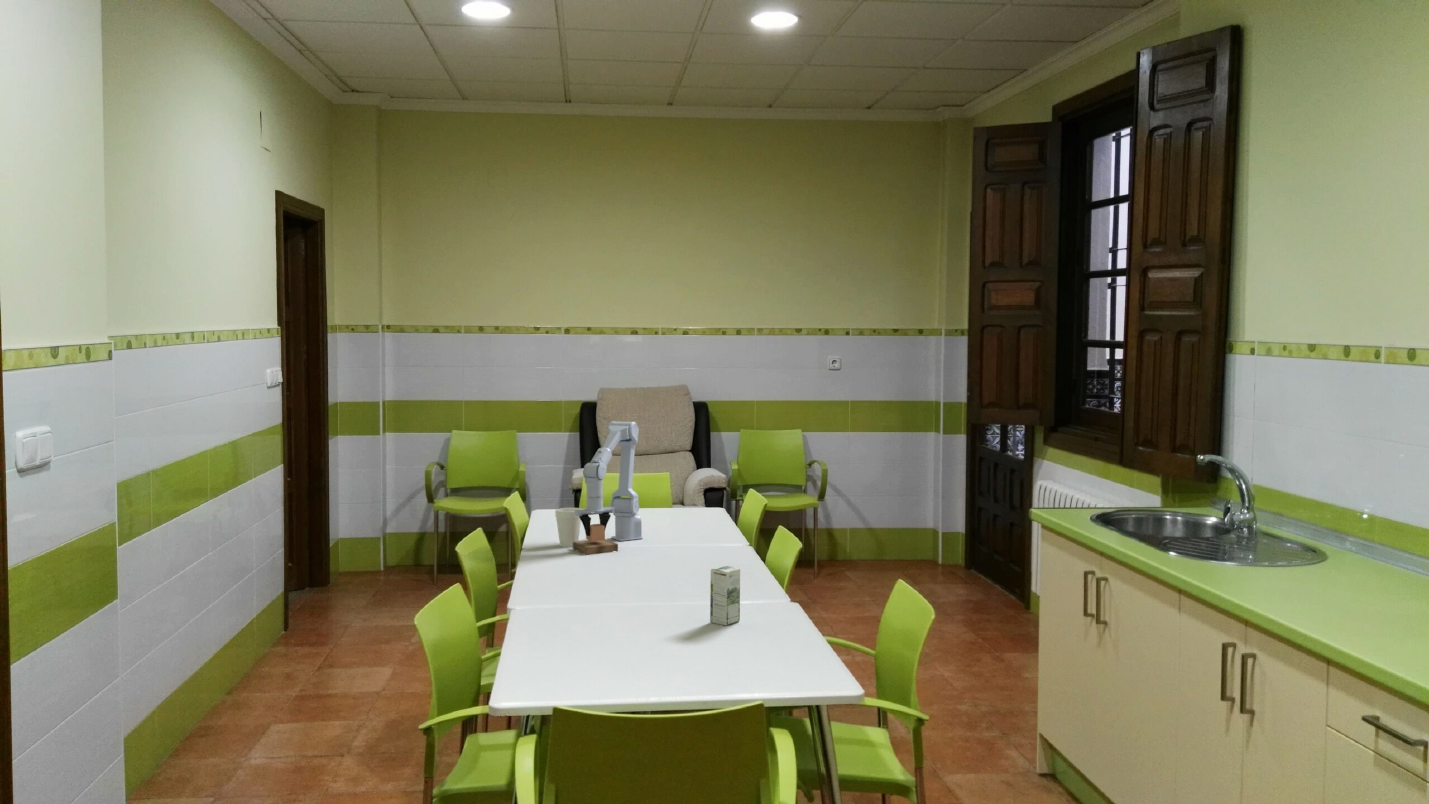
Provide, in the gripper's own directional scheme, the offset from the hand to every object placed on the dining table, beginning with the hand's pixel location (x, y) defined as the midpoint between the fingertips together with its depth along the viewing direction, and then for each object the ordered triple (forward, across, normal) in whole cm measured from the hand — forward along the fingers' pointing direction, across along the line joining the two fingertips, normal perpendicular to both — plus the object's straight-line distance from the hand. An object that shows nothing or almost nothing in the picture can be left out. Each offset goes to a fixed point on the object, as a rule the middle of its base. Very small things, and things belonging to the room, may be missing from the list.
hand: (595, 534), depth 375 cm
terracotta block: (+2, 0, 0) cm, 2 cm away
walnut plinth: (+6, 0, 0) cm, 6 cm away
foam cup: (+6, -4, +13) cm, 15 cm away
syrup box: (+6, -10, -105) cm, 106 cm away
